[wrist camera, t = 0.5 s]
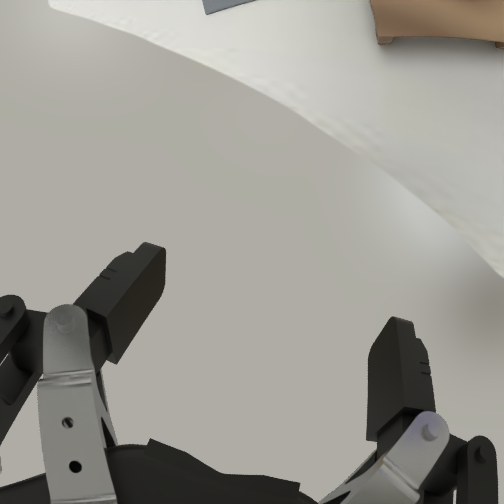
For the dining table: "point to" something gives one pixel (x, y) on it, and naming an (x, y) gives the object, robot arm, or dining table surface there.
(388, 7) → the wooden stool with post
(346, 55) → the dining table surface
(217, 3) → the mat
